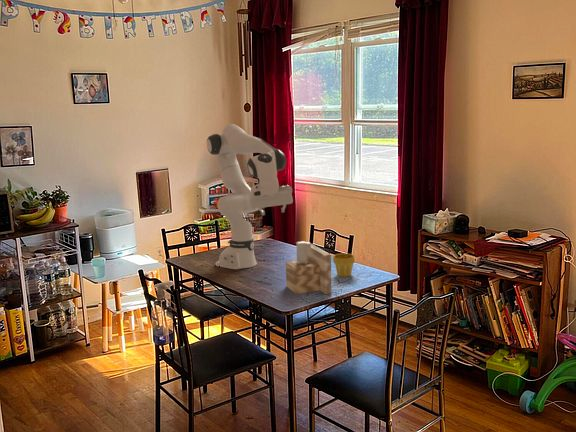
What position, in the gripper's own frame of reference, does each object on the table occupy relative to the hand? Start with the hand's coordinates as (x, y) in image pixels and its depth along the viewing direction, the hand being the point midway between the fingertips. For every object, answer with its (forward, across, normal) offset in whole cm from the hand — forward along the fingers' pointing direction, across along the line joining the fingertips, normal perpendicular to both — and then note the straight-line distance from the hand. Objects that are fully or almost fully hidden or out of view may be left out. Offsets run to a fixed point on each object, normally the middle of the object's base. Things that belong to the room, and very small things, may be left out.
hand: (273, 213), depth 275 cm
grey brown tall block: (+20, -10, +22) cm, 32 cm away
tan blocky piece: (+28, -11, +25) cm, 39 cm away
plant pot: (+36, -30, +8) cm, 48 cm away
